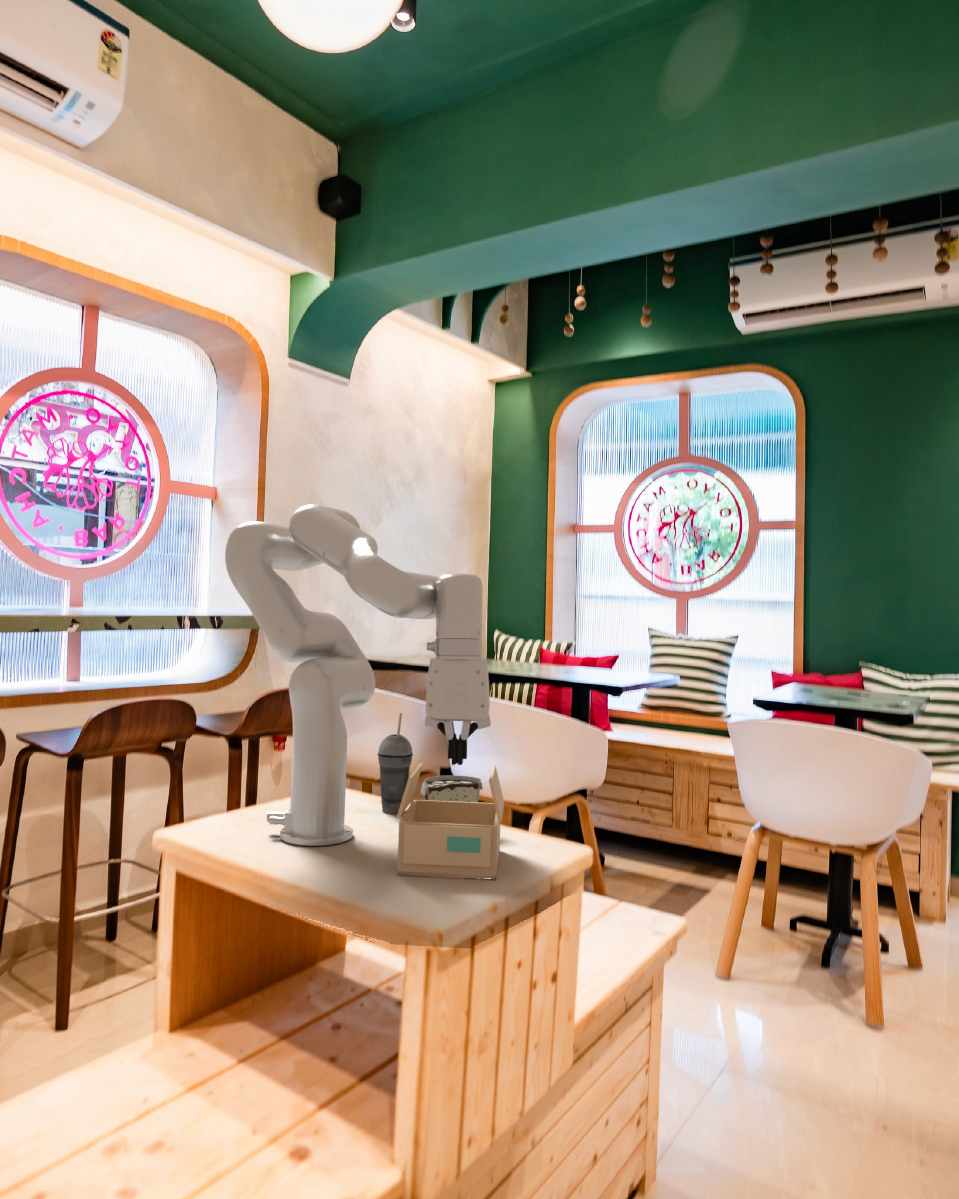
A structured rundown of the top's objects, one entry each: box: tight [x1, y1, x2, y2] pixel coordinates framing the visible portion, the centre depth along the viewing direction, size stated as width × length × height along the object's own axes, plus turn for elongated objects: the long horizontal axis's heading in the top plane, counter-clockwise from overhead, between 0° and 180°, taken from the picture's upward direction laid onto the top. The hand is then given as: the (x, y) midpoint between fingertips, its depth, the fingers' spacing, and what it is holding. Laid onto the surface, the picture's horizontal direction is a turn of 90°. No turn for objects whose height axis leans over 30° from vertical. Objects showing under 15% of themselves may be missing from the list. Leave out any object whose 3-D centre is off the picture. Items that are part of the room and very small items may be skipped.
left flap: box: [396, 762, 424, 819], centre depth 130 cm, size 6×14×1 cm
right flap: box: [488, 765, 505, 823], centre depth 129 cm, size 6×14×1 cm
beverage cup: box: [377, 712, 414, 815], centre depth 163 cm, size 7×7×20 cm
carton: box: [396, 799, 501, 880], centre depth 129 cm, size 15×17×8 cm
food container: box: [420, 774, 484, 802], centre depth 147 cm, size 12×6×10 cm, turn 123°
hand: (457, 763), depth 129 cm, fingers closed
